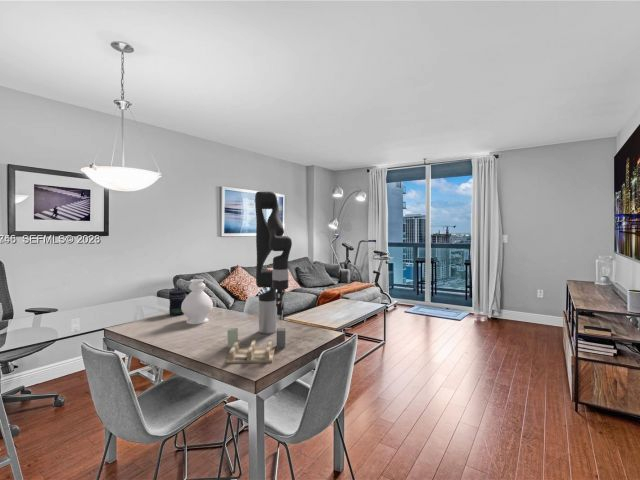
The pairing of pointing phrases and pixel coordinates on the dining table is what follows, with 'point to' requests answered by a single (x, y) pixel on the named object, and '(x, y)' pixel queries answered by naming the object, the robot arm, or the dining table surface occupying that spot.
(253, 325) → the dining table surface
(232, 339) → the sage plug
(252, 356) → the slot rack
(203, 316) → the decorative vase
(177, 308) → the storage jar
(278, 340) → the charcoal plug
